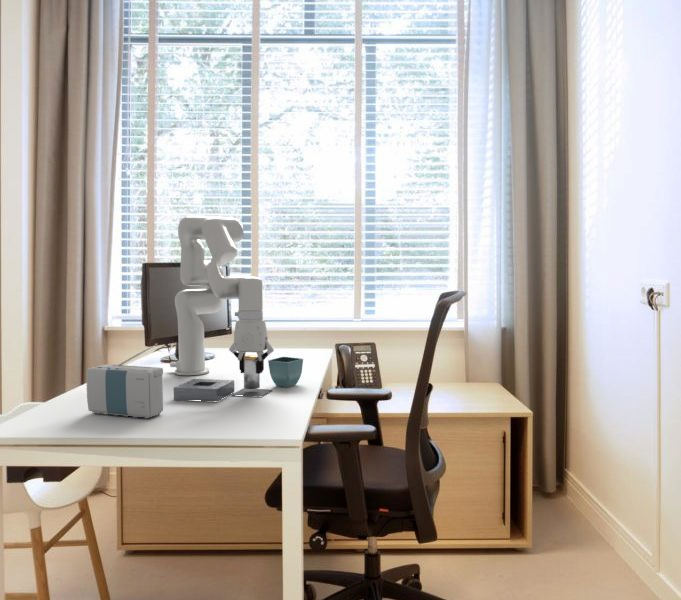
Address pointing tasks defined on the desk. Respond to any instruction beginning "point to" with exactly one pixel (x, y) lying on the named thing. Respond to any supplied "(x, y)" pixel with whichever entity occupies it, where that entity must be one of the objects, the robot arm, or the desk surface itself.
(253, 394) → the mat
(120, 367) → the grey teal equipment box
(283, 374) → the flower pot
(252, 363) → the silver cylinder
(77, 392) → the desk surface
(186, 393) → the housing
